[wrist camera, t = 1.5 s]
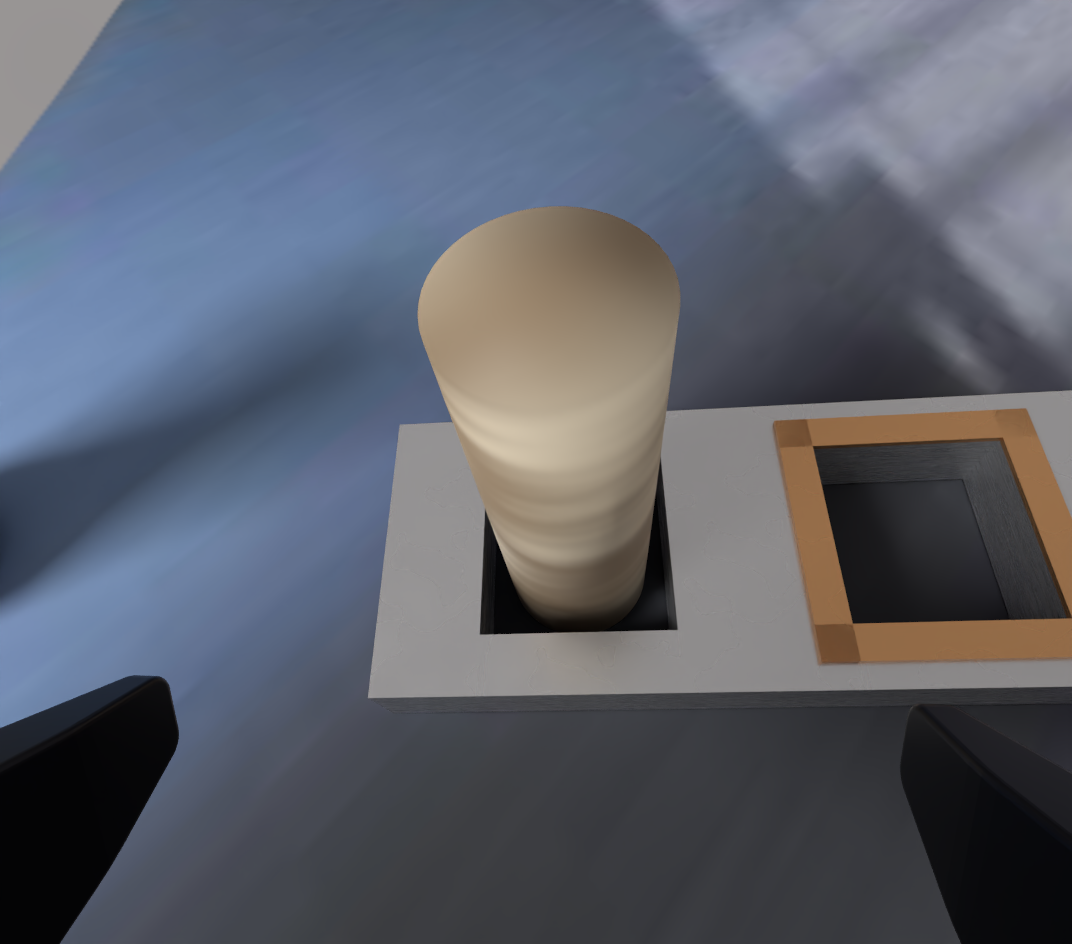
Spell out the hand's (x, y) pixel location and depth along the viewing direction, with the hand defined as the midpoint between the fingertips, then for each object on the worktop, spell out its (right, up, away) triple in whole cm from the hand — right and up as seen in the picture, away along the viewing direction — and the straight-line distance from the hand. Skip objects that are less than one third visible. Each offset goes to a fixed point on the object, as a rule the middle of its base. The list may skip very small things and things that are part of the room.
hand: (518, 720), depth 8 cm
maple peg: (+2, 0, +14) cm, 15 cm away
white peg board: (+7, 0, +14) cm, 16 cm away
